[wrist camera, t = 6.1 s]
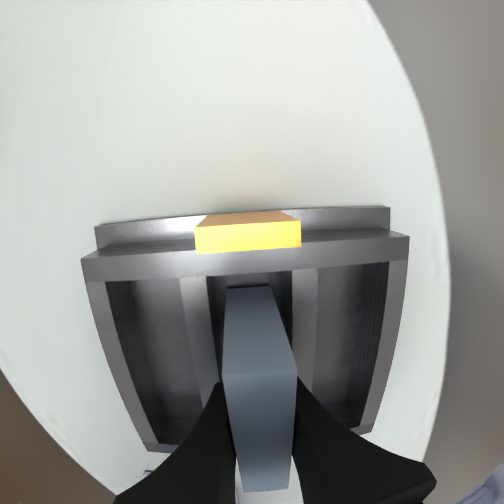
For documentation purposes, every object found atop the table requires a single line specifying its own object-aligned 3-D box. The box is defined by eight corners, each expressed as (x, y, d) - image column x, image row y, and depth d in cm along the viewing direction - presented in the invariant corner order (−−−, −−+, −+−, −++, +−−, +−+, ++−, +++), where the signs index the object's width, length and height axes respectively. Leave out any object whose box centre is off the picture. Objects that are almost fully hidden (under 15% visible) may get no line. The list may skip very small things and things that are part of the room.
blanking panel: (273, 406, 15) (287, 488, 9) (239, 408, 15) (244, 492, 9) (270, 285, 13) (297, 368, 7) (226, 289, 13) (221, 374, 7)
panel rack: (359, 409, 16) (382, 454, 12) (153, 426, 16) (140, 475, 11) (384, 206, 13) (440, 216, 9) (99, 225, 12) (46, 242, 8)
